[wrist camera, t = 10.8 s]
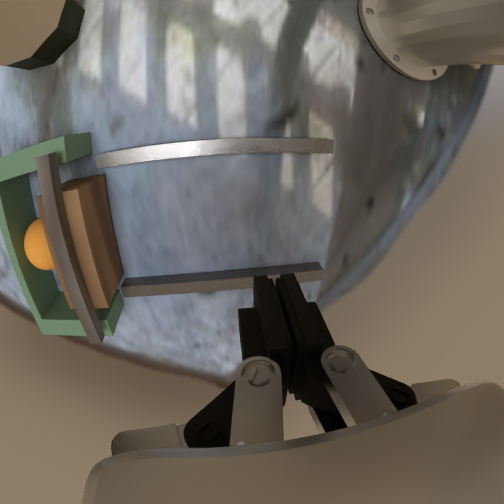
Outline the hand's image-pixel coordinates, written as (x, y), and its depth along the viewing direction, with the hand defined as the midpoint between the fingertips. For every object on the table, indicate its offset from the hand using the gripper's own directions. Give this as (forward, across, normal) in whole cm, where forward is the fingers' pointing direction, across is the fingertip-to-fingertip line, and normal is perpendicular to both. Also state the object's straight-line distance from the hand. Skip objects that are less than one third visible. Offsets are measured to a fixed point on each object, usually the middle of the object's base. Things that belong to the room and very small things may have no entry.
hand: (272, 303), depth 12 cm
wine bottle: (+15, +18, -20) cm, 31 cm away
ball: (+11, +19, +1) cm, 22 cm away
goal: (+14, +18, +2) cm, 23 cm away
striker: (+14, +14, +2) cm, 20 cm away
